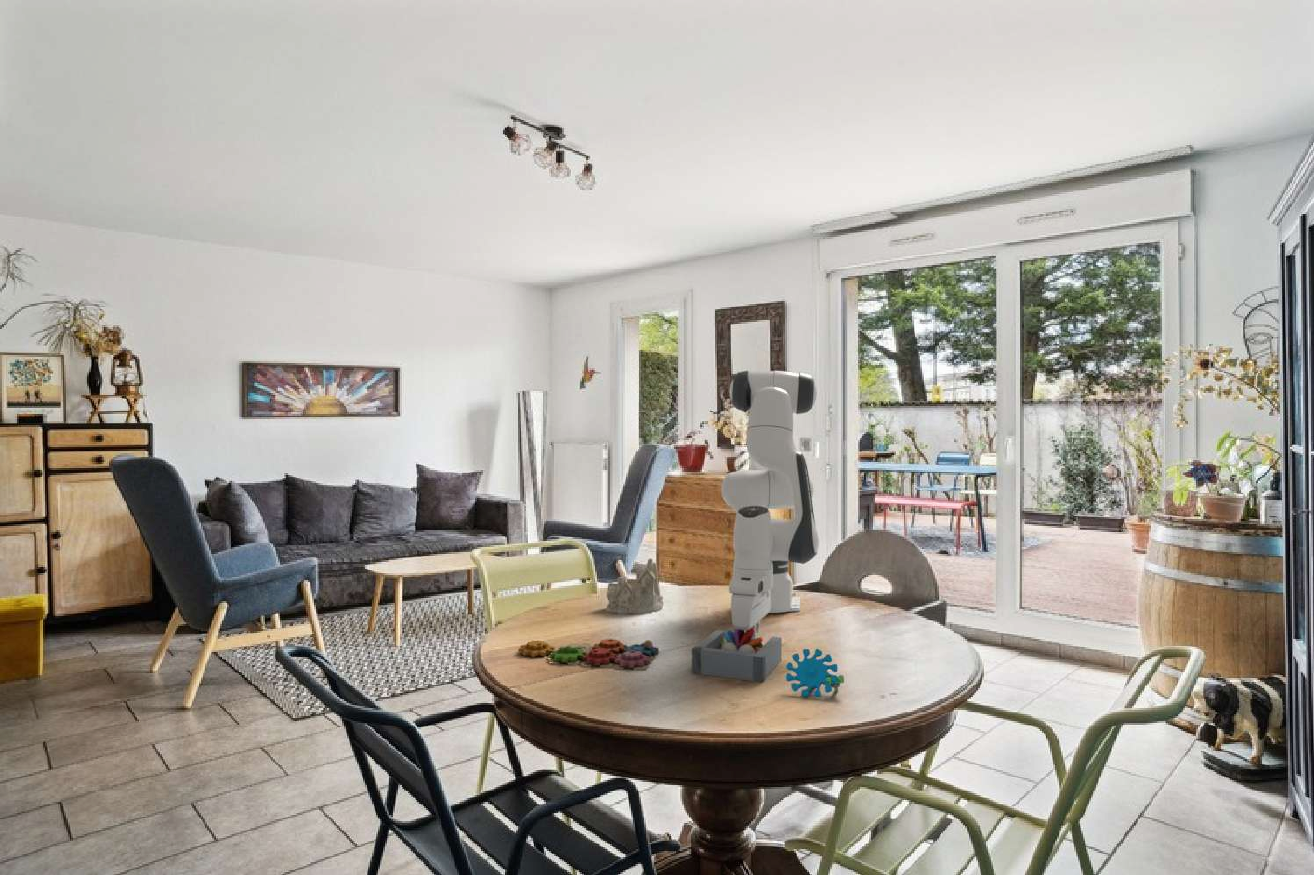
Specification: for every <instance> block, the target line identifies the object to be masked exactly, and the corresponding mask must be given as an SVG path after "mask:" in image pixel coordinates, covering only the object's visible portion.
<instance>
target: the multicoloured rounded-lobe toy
mask: <svg viewBox="0 0 1314 875" xmlns="http://www.w3.org/2000/svg"><path fill="white" fill-rule="evenodd" d="M753 633H754V629H753V628H751V629H750V630H747V631H746V630H738V629H734V631H732V630H730V629H729V630H726V631H724V639H725V640H726V641H724V642H723V643H722V644H721V649H722V650H730V651H739V652H748V653H757V652H758V651H759V650H760V649H761V648H762V647H763V646H764V645H765V644H764V643H763V637H761V636H758V638H756V639H751V638H752V636H753Z"/></svg>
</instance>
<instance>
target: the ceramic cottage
mask: <svg viewBox="0 0 1314 875" xmlns="http://www.w3.org/2000/svg"><path fill="white" fill-rule="evenodd" d="M635 571H636V575H635V577H636V578H628V576H625V577H624V578H623V577H622V576H620V577H617V582H616V583H613V582H608V584H607V592H606V599H607V600H608V604H607V606H606V610H607V611H610V612H609V613H615V612H621V613H620V614H622V613H623V614H625V613H638V614H639V613H646V614H653V613H652V612H655V613H658V612H657V611H659V612H661V611H662V610H663V607H664V597H663V596H662V595H661V590H660V589H661V588H660V585H659V572H658V568H657V562H655V561H654V562H653V558H648V559H647V563H646V566H645V567H644V568H643V569H636V570H635ZM661 609H662V610H661ZM606 610H605V611H606ZM660 610H661V611H660ZM607 611H606V612H607Z"/></svg>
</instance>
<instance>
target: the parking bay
mask: <svg viewBox="0 0 1314 875" xmlns="http://www.w3.org/2000/svg"><path fill="white" fill-rule="evenodd" d="M782 640H783V639H782V636H781V637H779V636H772V637H771V638H769V639H768V640H767V641H766V642H765V643H764V644H763V645H764V646H763V647H762V648H761V649H760V650H759V651H758V652H757V653H748V652H739V651H730V650H722V649H721V644H722V643H723V642H725V631H724V630H714V631H713V632H711V634H709V635H708V636H706V637H705V638H704V639H703V640H701V641H700V642H698V644H696V645H695V646H694V647H692V648H691V674H697V675H705V676H710V677H711V676H713V677H719V678H728V679H733V680H734V679H736V680H740V681H741V680H743V681H751V682H757V683H764V682H765V680H766V679H767V678H768V677H769V676H770V675H771V673H772V672H773V671H774V670H775V668H776V667H778V665H779V664H780V663H781V662H782V651H783V650H782V648H783V647H782V646H783V644H782Z"/></svg>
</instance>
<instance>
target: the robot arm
mask: <svg viewBox="0 0 1314 875" xmlns="http://www.w3.org/2000/svg"><path fill="white" fill-rule="evenodd" d="M728 393H729V397H730V402H731V404H732V406H733V407H734V408H735V409H736V410H737V411H741V412H743V413H747V412H749V414H748V420H747V431H746V449H747V452H748V454H749V456H750V457H751V458H752V460H753V461H754V462H755V463H756V464H758V465H759V466H761V467H763V468H765V469H763V470H762V469H758V470H757V469H741V470H737V471H733V472H729V473H727V474H726V475H725V476H724V478H723V480H722V482H721V488H720V492H721V496H722V500H723V501H724V502H725V504H726V505H727V506H728V507H729V508H731V509H732V510H733V511H734V512H735V513H736V514H735V521H734V528H733V540H732V541H733V545H732V546H733V550H734V554H735V555H734V561H733V567H732V568H733V571H732V572H733V573H732V578H731V580H730V582H729V583H728V584H729V585H728V592H729V593H730V594H731V598H730V608H731V623H732V626H733V629H734V630H735V629H738V630H744V631H745V632H746V631H747V630H750V629H751V628H753V629H754V633H753V636H752V638H751V639H756V638H759V631H760V625H761V620H762V619H763V618H764V617H766V615H768V614H781V613H789V612H799V611H801V597H800V596H798V595H796V592H794V589H793V588H794V586H793V585H794V582H793V579H792V577H791V575H790V573H789V572H788V571H789V570H790V569H789V562H790V563H795V564H802V565H804V564H806V563H808V562H809V561H811V560H813V558H815V557H816V556H817V555H818V551H819V547H820V542H819V541H820V540H819V534H818V533H819V532H818V530H817V526H816V520H815V515H814V514H815V513H814V507H813V495H814V484H813V481H812V479H811V477H810V476H809V471H808V464H807V461H806V458H805V456H804V454H803V453H802V452H800V451H799V450H798V449H797V447H796V445H795V443H794V436H793V435H794V416H793V415H794V414H796V415H801V414H806V413H809V411H811V410H812V409H813V406H815V402H816V400H817V394H818V389H817V385H816V383H815V379H814V378H813V376H812V375H810V374H807V373H804V372H798V373H796V372H791V371H785V370H773V371H772V370H759V371H758V370H757V371H749V370H743V371H739V372H737V373H736V374H735V375H734V376H733V378H732V380H731V383H730V385H729V392H728ZM793 509H794V517H793V518H791V519H789V518H787V519H785V518H783V519H782V518H772V516H771V511H770V510H793Z"/></svg>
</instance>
